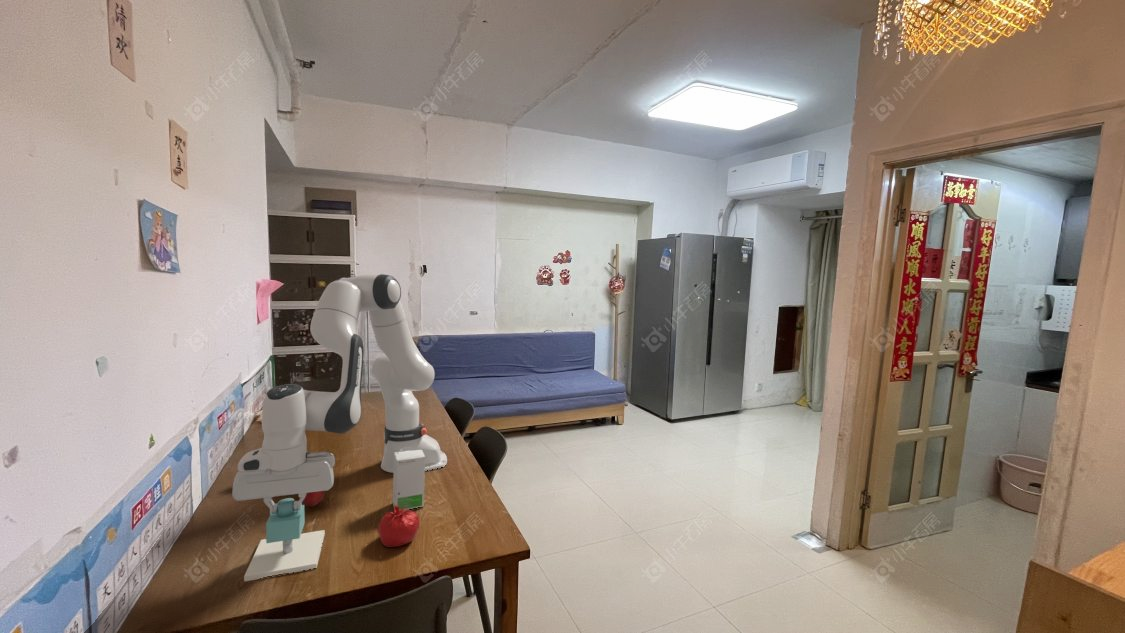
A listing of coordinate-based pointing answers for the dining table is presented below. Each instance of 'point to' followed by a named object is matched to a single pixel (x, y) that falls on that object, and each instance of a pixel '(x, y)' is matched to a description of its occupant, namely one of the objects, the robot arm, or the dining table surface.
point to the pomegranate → (398, 527)
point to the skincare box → (409, 479)
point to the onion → (313, 498)
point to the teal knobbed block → (285, 522)
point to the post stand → (286, 556)
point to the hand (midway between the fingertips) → (286, 511)
